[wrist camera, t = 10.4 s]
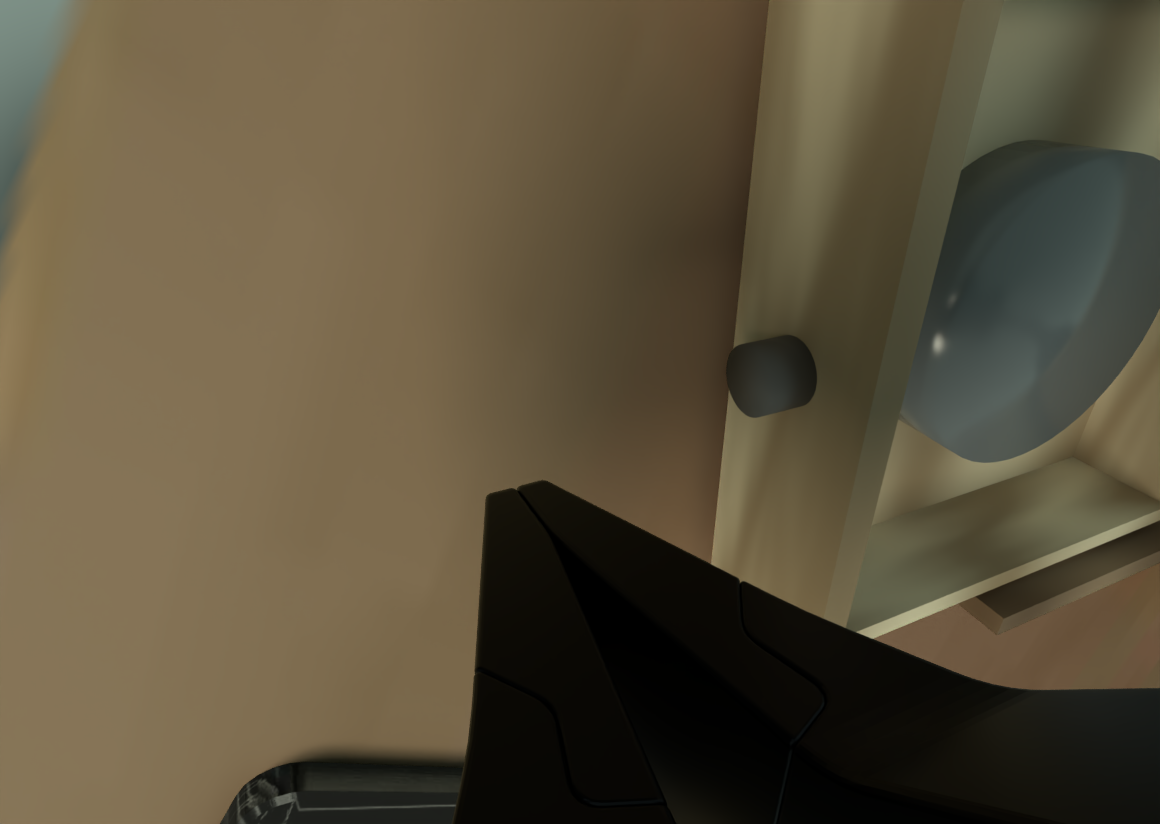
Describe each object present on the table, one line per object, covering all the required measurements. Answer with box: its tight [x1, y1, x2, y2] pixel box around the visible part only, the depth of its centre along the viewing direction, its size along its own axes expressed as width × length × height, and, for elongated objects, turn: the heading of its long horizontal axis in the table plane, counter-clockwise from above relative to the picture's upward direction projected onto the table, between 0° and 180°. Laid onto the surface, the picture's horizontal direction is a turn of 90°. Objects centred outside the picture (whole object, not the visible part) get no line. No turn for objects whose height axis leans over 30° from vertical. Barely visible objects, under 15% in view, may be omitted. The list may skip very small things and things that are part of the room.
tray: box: [711, 0, 1160, 639], centre depth 15 cm, size 15×15×4 cm
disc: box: [898, 140, 1160, 463], centre depth 15 cm, size 7×7×2 cm
